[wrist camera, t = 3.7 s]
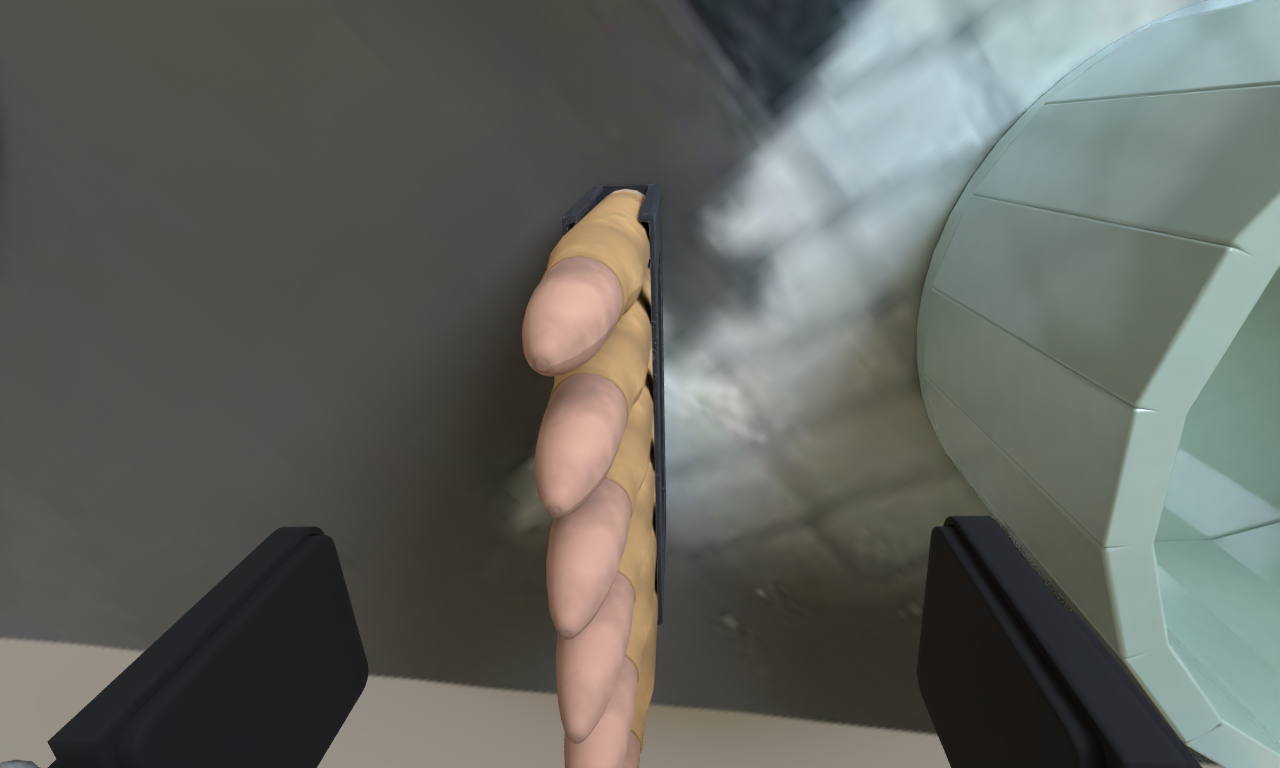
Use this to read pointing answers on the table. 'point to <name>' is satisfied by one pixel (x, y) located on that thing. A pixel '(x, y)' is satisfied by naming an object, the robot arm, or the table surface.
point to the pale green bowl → (1134, 360)
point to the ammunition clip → (603, 465)
